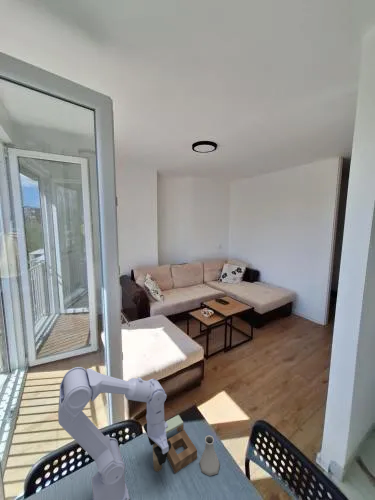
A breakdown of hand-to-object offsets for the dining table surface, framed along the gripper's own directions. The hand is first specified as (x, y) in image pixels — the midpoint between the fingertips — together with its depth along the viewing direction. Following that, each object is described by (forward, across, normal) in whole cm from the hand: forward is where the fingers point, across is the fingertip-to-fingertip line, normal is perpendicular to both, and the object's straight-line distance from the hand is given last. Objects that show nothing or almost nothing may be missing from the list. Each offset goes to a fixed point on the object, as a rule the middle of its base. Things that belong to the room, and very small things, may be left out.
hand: (157, 452), depth 76 cm
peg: (+6, 0, 0) cm, 6 cm away
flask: (+6, -9, -15) cm, 19 cm away
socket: (+6, 0, -8) cm, 10 cm away
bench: (+6, +6, -8) cm, 12 cm away
